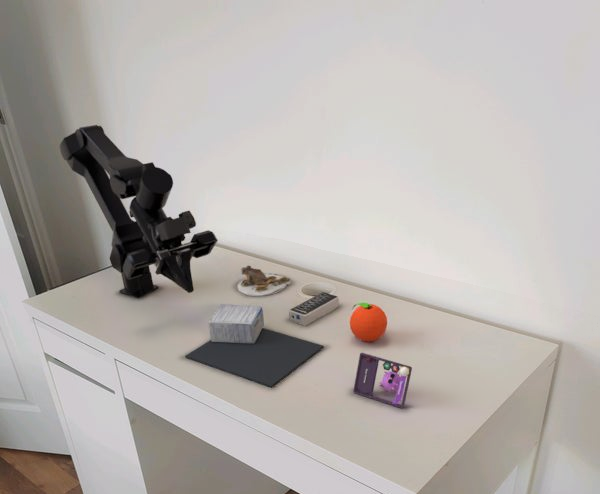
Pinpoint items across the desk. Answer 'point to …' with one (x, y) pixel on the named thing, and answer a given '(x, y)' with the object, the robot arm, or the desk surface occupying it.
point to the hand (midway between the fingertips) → (191, 291)
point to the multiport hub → (314, 308)
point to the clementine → (368, 322)
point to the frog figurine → (261, 282)
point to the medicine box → (236, 323)
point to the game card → (390, 379)
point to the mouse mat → (258, 356)
